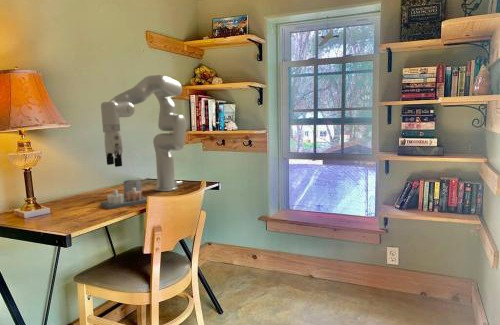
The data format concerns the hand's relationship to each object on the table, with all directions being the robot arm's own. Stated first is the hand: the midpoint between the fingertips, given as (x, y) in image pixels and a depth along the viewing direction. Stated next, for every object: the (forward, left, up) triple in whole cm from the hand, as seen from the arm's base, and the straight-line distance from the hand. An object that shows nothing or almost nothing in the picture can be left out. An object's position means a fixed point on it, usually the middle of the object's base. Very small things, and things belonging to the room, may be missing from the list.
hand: (114, 165), depth 177 cm
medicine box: (-13, -11, -19) cm, 25 cm away
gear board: (-4, +1, -19) cm, 19 cm away
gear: (+1, +1, -17) cm, 17 cm away
